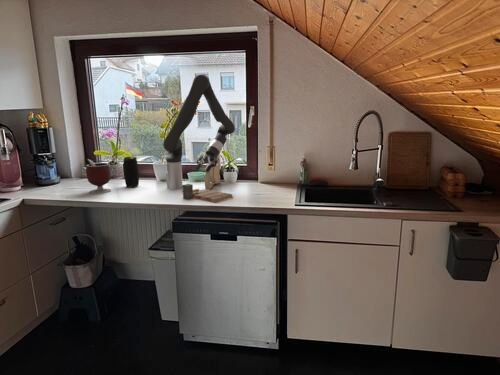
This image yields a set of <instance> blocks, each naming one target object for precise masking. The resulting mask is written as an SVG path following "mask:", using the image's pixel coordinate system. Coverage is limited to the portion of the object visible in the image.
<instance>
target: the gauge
mask: <svg viewBox="0 0 500 375" xmlns="http://www.w3.org/2000/svg"><path fill="white" fill-rule="evenodd" d="M193 186H194V185H193V184H191V183H186V184H183V185H182V187H183V188H182V199H183V200H193V199H194V198H193V193H194V192H197V193H198V191H200V188H196V189H193V188H194V187H193Z"/></svg>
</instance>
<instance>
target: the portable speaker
mask: <svg viewBox="0 0 500 375" xmlns="http://www.w3.org/2000/svg"><path fill="white" fill-rule="evenodd" d="M122 165H123V166H122V167H123V178H124V181H125V185H126V186H125V187H126V188H128V187H130V188H132V189H133V188H137V187H138V186H140V185H139V184H140V171H139V170H140V169H139V164H138V160H137V156H134V157H133V156H124V158H123V164H122Z"/></svg>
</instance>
